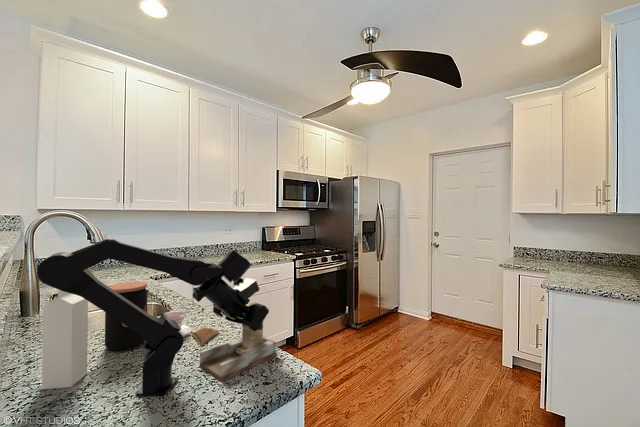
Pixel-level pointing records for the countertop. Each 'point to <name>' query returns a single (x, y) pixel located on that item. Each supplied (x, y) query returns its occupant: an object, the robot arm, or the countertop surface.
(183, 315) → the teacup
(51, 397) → the countertop surface
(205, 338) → the folded crepe
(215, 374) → the grey brown open tray
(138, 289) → the coffee jar
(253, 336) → the beech peg
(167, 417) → the countertop surface
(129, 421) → the countertop surface
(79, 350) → the milk
